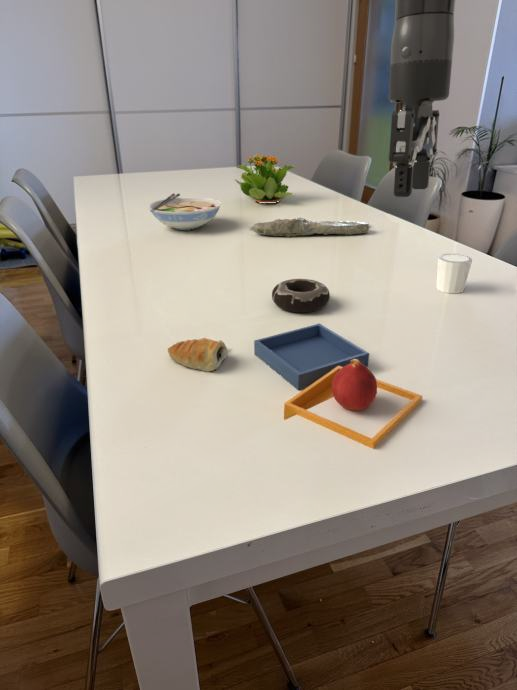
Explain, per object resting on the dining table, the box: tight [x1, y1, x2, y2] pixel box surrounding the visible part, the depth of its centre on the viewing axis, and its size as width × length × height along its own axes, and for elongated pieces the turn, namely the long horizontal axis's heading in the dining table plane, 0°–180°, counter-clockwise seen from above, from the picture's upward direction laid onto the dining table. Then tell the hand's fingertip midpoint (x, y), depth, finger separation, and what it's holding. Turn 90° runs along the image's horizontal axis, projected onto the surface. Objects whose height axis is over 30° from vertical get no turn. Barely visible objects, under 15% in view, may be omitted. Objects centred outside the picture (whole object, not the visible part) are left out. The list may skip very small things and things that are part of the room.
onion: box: [332, 359, 378, 412], centre depth 67 cm, size 6×6×8 cm
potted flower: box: [234, 153, 296, 202], centre depth 193 cm, size 25×24×18 cm
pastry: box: [167, 337, 228, 372], centre depth 83 cm, size 9×7×4 cm
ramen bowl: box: [147, 193, 222, 231], centre depth 161 cm, size 25×23×8 cm
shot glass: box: [436, 252, 473, 294], centre depth 110 cm, size 7×7×7 cm
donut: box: [271, 278, 331, 314], centre depth 104 cm, size 12×12×4 cm
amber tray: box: [283, 366, 423, 449], centre depth 69 cm, size 13×13×3 cm
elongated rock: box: [252, 217, 370, 238], centre depth 154 cm, size 35×5×10 cm
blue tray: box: [253, 323, 370, 391], centre depth 82 cm, size 13×13×3 cm
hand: (411, 192), depth 71 cm, fingers open, 8 cm apart
